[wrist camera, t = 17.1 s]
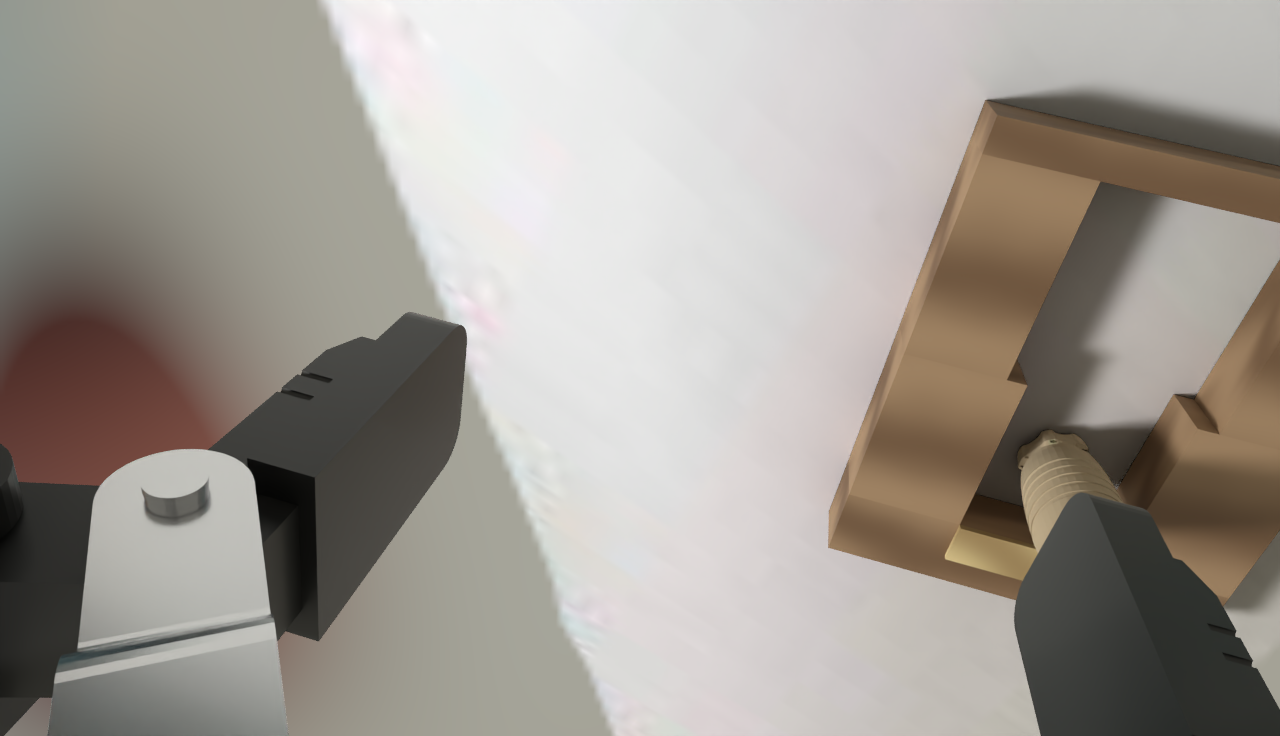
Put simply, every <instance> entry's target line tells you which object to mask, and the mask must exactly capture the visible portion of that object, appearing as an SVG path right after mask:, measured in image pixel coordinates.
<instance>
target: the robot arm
mask: <svg viewBox="0 0 1280 736" xmlns="http://www.w3.org/2000/svg"><path fill="white" fill-rule="evenodd" d="M466 347H467V335H466V330H465V328H464V327H463V326H462V325H458V324H454V323H451V322H447V321H443V320H439V319H436V318H432V317H427V316H424V315H420V314H417V313H413V312H408V313H406V314H404V315H403V316H402V317H401V318H400V319H399V320H398V321H397V322H395V323H394V324H393V325H392V326H391V327H390V328H389V329H388V330H387V331H386V332H384V334H382V335H381V336H380V337H379V338H378V339H377V340H372V339H369V338H365V337H359V338H357V339H354V340H352V341H349V342H346V343H344V344H341V345H338V346H336V347H333V348H331V349H328V350H326V351H325V352H323V353H322V354H321V355H320V356H319V357H318V358H316V359H315V360H314V361H313V362H312V363H310V364H309V365H308V366H307V367H306V368H305V369H303V370H302V374H301V375H296V376H295V377H294V378H293V379H291V380H290V381H289V382H288V383H287V384H286V385H284V386H283V387H282V391H281V392H276V393H275V394H274V395H273V396H271V397H270V398H269V399H268V400H267V401H265V402H264V403H263V404H262V405H261V406H259V407H258V408H257V409H256V410H255V411H254V412H252V413H251V414H250V415H249V416H248V417H246V418H245V419H244V420H243V421H242V422H241V423H239V424H238V425H237V426H236V427H235V428H233V429H232V430H231V431H230V432H229V433H228V434H226V435H225V436H224V437H223V438H221V439H220V440H219V441H218V442H217V443H216V444H214V445H213V446H212V447H211V448H210V449H208V450H201V449H185V450H184V449H183V450H173V451H167V452H161V453H157V454H153V455H150V456H146V457H144V458H141V459H138V460H136V461H133V462H131V463H129V464H127V465H125V466H124V467H122V468H120V469H119V470H117V471H115V472H114V473H113V474H112V475H111V476H109V477H108V478H107V479H106V480H105V481H104V482H103V483H102V484H101V486H91V485H69V484H48V483H27V482H18V480H17V475H16V471H15V467H14V463H13V459H12V456H11V454H10V453H9V451H8V450H7V449H6V448H5V447H4V446H3V445H2V444H0V736H4V735H5V734H6V733H7V732H8V731H9V730H10V729H11V728H12V727H13V725H14V724H15V723H16V722H17V721H18V720H19V719H20V718H21V717H22V716H23V715H24V714H25V713H26V712H27V710H28V709H29V708H30V707H31V706H32V705H33V704H34V703H35V702H36V701H37V700H38V699H39V698H40V697H42V698H43V697H44V698H48V697H49V698H52V705H51V712H50V719H49V727H48V735H47V736H289V734H288V726H287V718H286V710H285V701H284V694H283V685H282V677H281V669H280V661H279V653H278V646H277V641H278V640H279V639H280V637H281V636H282V635H283V633H284V632H285V631H287V632H290V633H293V634H297V635H300V636H303V637H306V638H309V639H313V640H316V641H319V640H320V639H321V638H322V636H323V635H324V633H325V632H326V631H327V629H328V628H329V627H330V625H331V624H332V622H333V621H334V620H335V618H336V617H337V615H338V614H339V613H340V611H341V610H342V608H343V607H344V606H345V604H346V603H347V602H348V600H349V599H350V597H351V596H352V595H353V593H354V592H355V590H356V589H357V588H358V586H359V585H360V583H361V582H362V581H363V579H364V578H365V577H366V575H367V574H368V572H369V571H370V570H371V568H372V567H373V565H374V564H375V563H376V561H377V560H378V558H379V557H380V556H381V554H382V553H383V552H384V550H385V549H386V547H387V546H388V545H389V543H390V542H391V540H392V539H393V538H394V536H395V535H396V534H397V532H398V531H399V529H400V528H401V527H402V525H403V524H404V522H405V521H406V520H407V518H408V517H409V515H410V514H411V513H412V511H413V510H414V508H415V507H416V506H417V504H418V503H419V502H420V500H421V499H422V497H423V496H424V495H425V493H426V492H427V490H428V489H429V488H430V486H431V485H432V484H433V482H434V480H435V479H436V478H437V477H438V475H439V474H440V472H441V471H442V470H443V468H444V467H445V465H446V464H447V462H448V460H449V458H450V456H451V453H452V451H453V449H454V446H455V443H456V439H457V435H458V431H459V426H460V418H461V406H462V405H461V404H462V394H463V382H464V371H465V359H466ZM1014 623H1015V631H1016V635H1017V639H1018V644H1019V648H1020V652H1021V656H1022V660H1023V664H1024V668H1025V672H1026V676H1027V681H1028V685H1029V689H1030V693H1031V697H1032V701H1033V705H1034V709H1035V713H1036V717H1037V722H1038V726H1039V730H1040V734H1041V736H1280V709H1279V707H1278V706H1277V704H1276V702H1275V700H1274V699H1273V696H1272V695H1271V693H1270V691H1269V689H1268V688H1267V686H1266V684H1265V682H1264V680H1263V678H1262V677H1261V675H1260V673H1259V671H1258V669H1257V668H1253V667H1252V661H1253V660H1252V658H1251V657H1250V655H1249V653H1248V651H1247V649H1246V648H1245V646H1244V644H1243V642H1242V640H1241V639H1240V638H1238V637H1235V633H1236V629H1235V628H1234V626H1233V624H1232V622H1231V620H1230V619H1229V617H1228V615H1227V613H1226V611H1225V610H1224V608H1223V606H1222V604H1221V602H1220V600H1219V599H1218V597H1217V595H1216V594H1215V593H1214V592H1213V591H1212V590H1211V589H1210V588H1209V587H1208V586H1207V585H1206V584H1205V583H1204V582H1203V581H1202V580H1201V579H1200V578H1199V577H1198V576H1197V575H1196V574H1195V573H1194V572H1193V571H1192V570H1191V569H1190V568H1189V567H1188V566H1187V565H1186V564H1185V563H1184V562H1183V561H1182V560H1179V559H1175V558H1173V556H1172V554H1171V553H1170V551H1169V549H1168V547H1167V545H1166V543H1165V541H1164V539H1163V537H1162V535H1161V533H1160V531H1159V529H1158V527H1157V525H1156V524H1155V522H1154V520H1153V518H1152V516H1151V515H1150V513H1149V512H1148V511H1147V510H1145V509H1143V508H1140V507H1136V506H1132V505H1128V504H1125V503H1121V502H1117V501H1113V500H1109V499H1106V498H1102V497H1098V496H1094V495H1091V494H1087V493H1077V494H1075V495H1074V496H1073V497H1072V498H1070V500H1069V501H1068V502H1067V503H1066V505H1065V507H1064V508H1063V510H1062V512H1061V513H1060V515H1059V517H1058V519H1057V521H1056V522H1055V524H1054V526H1053V528H1052V529H1051V531H1050V533H1049V535H1048V537H1047V538H1046V540H1045V542H1044V544H1043V545H1042V547H1041V549H1040V551H1039V553H1038V554H1037V556H1036V558H1035V560H1034V561H1033V563H1032V565H1031V567H1030V568H1029V570H1028V572H1027V574H1026V576H1025V577H1024V579H1023V581H1022V583H1021V586H1020V588H1019V592H1018V595H1017V599H1016V605H1015V613H1014Z"/></svg>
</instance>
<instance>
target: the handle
mask: <svg viewBox="0 0 1280 736" xmlns="http://www.w3.org/2000/svg"><path fill="white" fill-rule="evenodd" d="M1088 450H1089V448H1088V447H1087V445H1086V444H1085V442H1084V441H1083V440H1082V439H1081V438H1080V437H1078V436H1077V435H1075V434H1066V435H1064V434H1058V433H1055V432H1054V431H1053V430H1046V431H1042V432H1041V434H1040V435H1039V436H1038V437H1037V438H1036V439H1035V440H1034V441H1032V442H1031V443H1029V444H1027V445H1023V446H1022V447H1021V448H1020V449H1019V451H1018V467H1019V469H1020V470H1022V472H1021V492H1022V500H1023V505H1024V510H1025V515H1026V519H1027V523H1028V527H1029V530H1030V533H1031V537H1032V540H1033V543H1034V546H1035V548H1036V551H1037V553H1039V551H1040V549H1041V547H1042V545H1043V544H1044V542H1045V540H1046V538H1047V537H1048V535H1049V533H1050V531H1051V529H1052V528H1053V526H1054V524H1055V522H1056V521H1057V519H1058V517H1059V515H1060V513H1061V512H1062V510H1063V508H1064V507H1065V505H1066V503H1067V502H1068V501H1069V500H1070V498H1072V497H1073V496H1074V495H1075V494H1077V493H1087V494H1091V495H1094V496H1098V497H1102V498H1106V499H1109V500H1113V501H1117V502H1121V503H1123V502H1122V500H1121V498H1120V496H1119V494H1118V492H1117V490H1116V489H1115V487H1114V485H1113V484H1112V482H1111V480H1110V479H1109V477H1108V476H1107V474H1106V473H1105V471H1104V470H1103V469H1102V467H1101V466H1100V465H1099V464H1098V462H1097V461H1096V460H1095V459H1094V458H1093V457H1092V456H1091V455H1090V454H1089V453H1088Z"/></svg>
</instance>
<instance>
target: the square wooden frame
mask: <svg viewBox="0 0 1280 736" xmlns="http://www.w3.org/2000/svg"><path fill="white" fill-rule="evenodd" d="M1100 181H1101V182H1105V183H1110V184H1114V185H1118V186H1122V187H1127V188H1131V189H1135V190H1140V191H1144V192H1148V193H1153V194H1157V195H1161V196H1166V197H1170V198H1174V199H1179V200H1183V201H1187V202H1192V203H1196V204H1200V205H1205V206H1209V207H1213V208H1217V209H1222V210H1226V211H1230V212H1235V213H1239V214H1243V215H1248V216H1252V217H1256V218H1261V219H1265V220H1269V221H1274V222H1278V223H1280V166H1276V165H1272V164H1267V163H1263V162H1258V161H1254V160H1249V159H1245V158H1240V157H1236V156H1232V155H1227V154H1223V153H1218V152H1214V151H1209V150H1205V149H1201V148H1196V147H1192V146H1187V145H1183V144H1178V143H1174V142H1169V141H1165V140H1161V139H1156V138H1152V137H1147V136H1143V135H1138V134H1134V133H1130V132H1125V131H1121V130H1116V129H1112V128H1107V127H1103V126H1099V125H1094V124H1090V123H1085V122H1081V121H1076V120H1072V119H1067V118H1063V117H1059V116H1054V115H1050V114H1045V113H1041V112H1036V111H1032V110H1028V109H1023V108H1019V107H1014V106H1010V105H1005V104H1001V103H996V102H992V101H988V100H985V103H984V105H983V108H982V111H981V113H980V116H979V119H978V121H977V124H976V126H975V129H974V132H973V134H972V137H971V140H970V142H969V145H968V147H967V150H966V153H965V155H964V158H963V161H962V163H961V166H960V168H959V171H958V174H957V176H956V179H955V182H954V184H953V187H952V189H951V192H950V195H949V197H948V200H947V203H946V205H945V208H944V211H943V213H942V216H941V218H940V221H939V224H938V226H937V229H936V232H935V234H934V237H933V239H932V242H931V245H930V247H929V250H928V253H927V255H926V258H925V260H924V263H923V266H922V268H921V271H920V274H919V276H918V279H917V281H916V284H915V287H914V289H913V292H912V295H911V297H910V300H909V303H908V305H907V308H906V310H905V313H904V316H903V318H902V321H901V324H900V326H899V329H898V331H897V334H896V337H895V339H894V342H893V345H892V347H891V350H890V352H889V355H888V358H887V360H886V363H885V366H884V368H883V371H882V374H881V376H880V379H879V381H878V384H877V387H876V389H875V392H874V395H873V397H872V400H871V402H870V405H869V408H868V410H867V413H866V416H865V418H864V421H863V423H862V426H861V429H860V431H859V434H858V437H857V439H856V442H855V444H854V447H853V450H852V452H851V455H850V458H849V460H848V463H847V466H846V468H845V471H844V473H843V476H842V479H841V481H840V484H839V487H838V489H837V492H836V494H835V497H834V500H833V502H832V505H831V508H830V510H829V539H828V548H832V549H835V550H839V551H842V552H846V553H850V554H853V555H857V556H860V557H864V558H867V559H871V560H875V561H878V562H882V563H885V564H889V565H892V566H896V567H900V568H903V569H907V570H910V571H914V572H917V573H921V574H925V575H928V576H932V577H935V578H939V579H942V580H946V581H949V582H953V583H957V584H960V585H964V586H967V587H971V588H974V589H978V590H982V591H985V592H989V593H992V594H996V595H999V596H1003V597H1007V598H1010V599H1014V600H1016V599H1017V595H1018V592H1019V588H1020V586H1021V583H1022V581H1023V579H1024V577H1025V576H1026V574H1027V572H1028V570H1029V568H1030V567H1031V565H1032V563H1033V561H1034V560H1035V558H1036V556H1037V554H1038V553H1037V551H1036V548H1035V546H1034V543H1033V540H1032V537H1031V533H1030V530H1029V527H1028V523H1027V519H1026V515H1025V510H1024V507H1021V506H1018V505H1014V504H1010V503H1007V502H1003V501H999V500H995V499H992V498H988V497H984V496H981V495H977V494H975V492H976V490H977V488H978V486H979V484H980V482H981V480H982V478H983V476H984V474H985V472H986V470H987V468H988V466H989V464H990V462H991V460H992V457H993V455H994V453H995V451H996V449H997V447H998V445H999V443H1000V441H1001V439H1002V437H1003V435H1004V433H1005V431H1006V429H1007V427H1008V425H1009V423H1010V421H1011V419H1012V417H1013V414H1014V412H1015V410H1016V408H1017V406H1018V404H1019V402H1020V400H1021V398H1022V396H1023V394H1024V392H1025V390H1026V388H1027V386H1028V385H1027V383H1026V380H1025V378H1024V375H1023V373H1022V370H1021V368H1020V365H1019V363H1018V360H1017V357H1018V355H1019V353H1020V351H1021V349H1022V347H1023V345H1024V343H1025V341H1026V338H1027V336H1028V334H1029V332H1030V330H1031V328H1032V326H1033V324H1034V321H1035V319H1036V317H1037V315H1038V313H1039V311H1040V309H1041V307H1042V304H1043V302H1044V300H1045V298H1046V296H1047V294H1048V292H1049V290H1050V287H1051V285H1052V283H1053V281H1054V279H1055V277H1056V275H1057V273H1058V271H1059V268H1060V266H1061V264H1062V262H1063V260H1064V258H1065V256H1066V254H1067V251H1068V249H1069V247H1070V245H1071V243H1072V241H1073V239H1074V237H1075V234H1076V232H1077V230H1078V228H1079V226H1080V224H1081V222H1082V220H1083V218H1084V215H1085V213H1086V211H1087V209H1088V207H1089V205H1090V203H1091V201H1092V198H1093V196H1094V194H1095V192H1096V190H1097V188H1098V186H1099V184H1100ZM1117 492H1118V494H1119V496H1120V498H1121V500H1122V502H1123V503H1125V504H1128V505H1132V506H1136V507H1140V508H1143V509H1145V510H1147V511H1148V512H1149V513H1150V515H1151V516H1152V518H1153V520H1154V522H1155V524H1156V525H1157V527H1158V529H1159V531H1160V533H1161V535H1162V537H1163V539H1164V541H1165V543H1166V545H1167V547H1168V549H1169V551H1170V553H1171V554H1172V556H1173V558H1175V559H1179V560H1182V561H1183V562H1184V563H1185V564H1186V565H1187V566H1188V567H1189V568H1190V569H1191V570H1192V571H1193V572H1194V573H1195V574H1196V575H1197V576H1198V577H1199V578H1200V579H1201V580H1202V581H1203V582H1204V583H1205V584H1206V585H1207V586H1208V587H1209V588H1210V589H1211V590H1212V591H1213V592H1214V593H1215V594H1216V595H1217V597H1218V599H1219V600H1220V602H1221V604H1222V606H1224V604H1225V603H1226V602H1227V600H1228V599H1229V598H1230V596H1231V595H1232V593H1233V592H1234V591H1235V589H1236V588H1237V587H1238V585H1239V584H1240V583H1241V581H1242V580H1243V579H1244V577H1245V576H1246V575H1247V573H1248V572H1249V571H1250V569H1251V568H1252V567H1253V565H1254V564H1255V563H1256V561H1257V560H1258V559H1259V557H1260V556H1261V555H1262V553H1263V552H1264V551H1265V549H1266V548H1267V547H1268V545H1269V544H1270V543H1271V541H1272V540H1273V539H1274V537H1275V536H1276V534H1277V533H1278V532H1279V530H1280V260H1279V262H1278V263H1277V265H1276V267H1275V268H1274V270H1273V271H1272V273H1271V275H1270V276H1269V278H1268V280H1267V281H1266V283H1265V285H1264V286H1263V288H1262V289H1261V291H1260V293H1259V294H1258V296H1257V298H1256V299H1255V301H1254V302H1253V304H1252V306H1251V307H1250V309H1249V311H1248V312H1247V314H1246V315H1245V317H1244V319H1243V320H1242V322H1241V324H1240V325H1239V327H1238V329H1237V330H1236V332H1235V333H1234V335H1233V337H1232V338H1231V340H1230V342H1229V343H1228V345H1227V346H1226V348H1225V350H1224V351H1223V353H1222V355H1221V356H1220V358H1219V359H1218V361H1217V363H1216V364H1215V366H1214V368H1213V369H1212V371H1211V373H1210V374H1209V376H1208V377H1207V379H1206V381H1205V382H1204V384H1203V386H1202V387H1201V389H1200V390H1199V392H1198V394H1197V395H1196V397H1195V399H1190V398H1186V397H1182V396H1178V395H1173V396H1172V398H1171V400H1170V402H1169V403H1168V405H1167V407H1166V408H1165V410H1164V412H1163V413H1162V415H1161V417H1160V418H1159V420H1158V422H1157V423H1156V425H1155V427H1154V428H1153V430H1152V432H1151V433H1150V435H1149V437H1148V438H1147V440H1146V442H1145V443H1144V445H1143V447H1142V448H1141V450H1140V452H1139V453H1138V455H1137V457H1136V458H1135V460H1134V462H1133V464H1132V465H1131V467H1130V469H1129V470H1128V472H1127V474H1126V475H1125V477H1124V479H1123V480H1122V482H1121V484H1120V485H1119V487H1118V489H1117Z"/></svg>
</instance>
